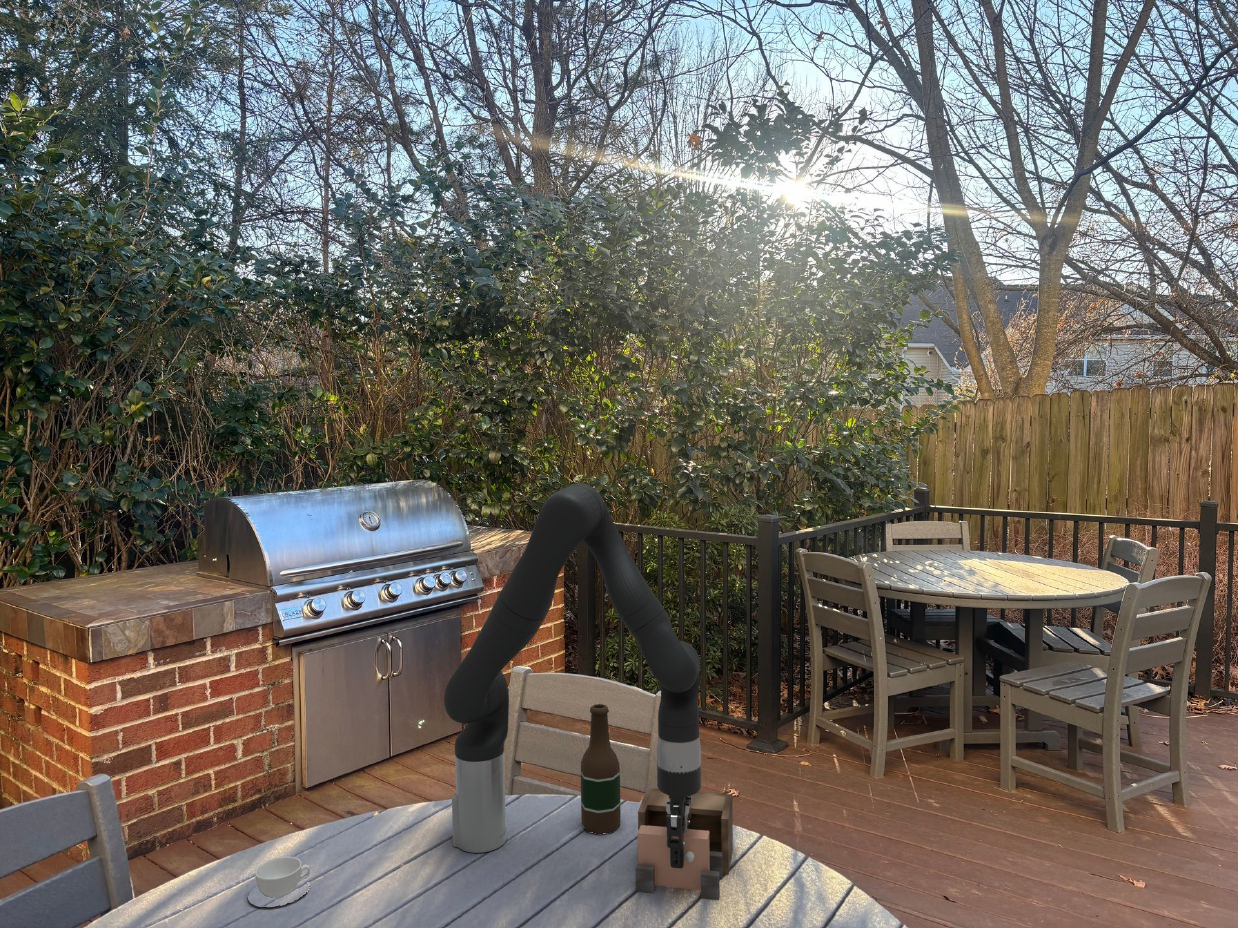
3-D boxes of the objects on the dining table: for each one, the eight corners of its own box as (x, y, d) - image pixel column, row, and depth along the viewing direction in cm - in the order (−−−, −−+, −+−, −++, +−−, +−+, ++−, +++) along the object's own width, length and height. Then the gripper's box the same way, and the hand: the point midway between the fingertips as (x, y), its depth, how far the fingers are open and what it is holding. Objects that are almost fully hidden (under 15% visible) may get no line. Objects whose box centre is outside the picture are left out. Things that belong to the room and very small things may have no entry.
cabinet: (630, 890, 144) (629, 832, 143) (648, 838, 161) (647, 787, 161) (724, 900, 140) (724, 841, 140) (732, 846, 158) (732, 794, 158)
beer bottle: (622, 817, 170) (621, 699, 169) (618, 836, 163) (617, 713, 161) (584, 816, 171) (582, 699, 170) (578, 834, 163) (576, 712, 162)
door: (637, 887, 145) (636, 835, 144) (641, 874, 149) (640, 824, 148) (707, 894, 142) (706, 842, 142) (709, 881, 146) (709, 830, 146)
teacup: (249, 916, 138) (248, 888, 138) (245, 887, 147) (244, 861, 146) (314, 900, 142) (313, 873, 142) (306, 872, 151) (305, 847, 151)
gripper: (696, 780, 137) (696, 881, 138) (705, 746, 151) (706, 838, 152) (650, 777, 139) (651, 876, 139) (663, 743, 153) (664, 834, 154)
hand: (679, 856), depth 146 cm, fingers open, 6 cm apart
